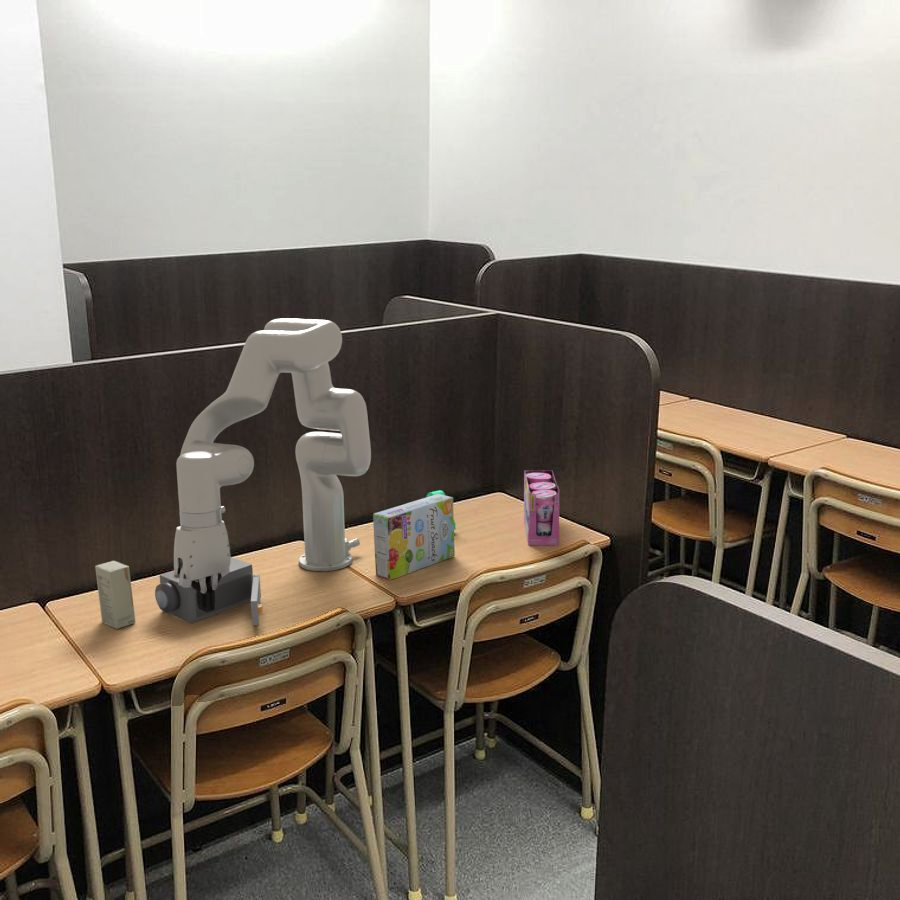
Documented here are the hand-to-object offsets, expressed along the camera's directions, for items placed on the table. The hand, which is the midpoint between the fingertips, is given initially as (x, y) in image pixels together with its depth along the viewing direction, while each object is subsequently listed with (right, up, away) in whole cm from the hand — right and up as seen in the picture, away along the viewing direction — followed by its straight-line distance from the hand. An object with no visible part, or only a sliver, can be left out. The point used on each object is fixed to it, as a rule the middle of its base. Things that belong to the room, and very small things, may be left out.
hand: (206, 609), depth 181 cm
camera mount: (+41, +9, +66) cm, 78 cm away
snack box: (+39, +3, +40) cm, 56 cm away
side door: (+7, -2, +14) cm, 16 cm away
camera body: (-5, -3, +18) cm, 18 cm away
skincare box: (-21, -5, +11) cm, 24 cm away
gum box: (+70, +9, +64) cm, 96 cm away
